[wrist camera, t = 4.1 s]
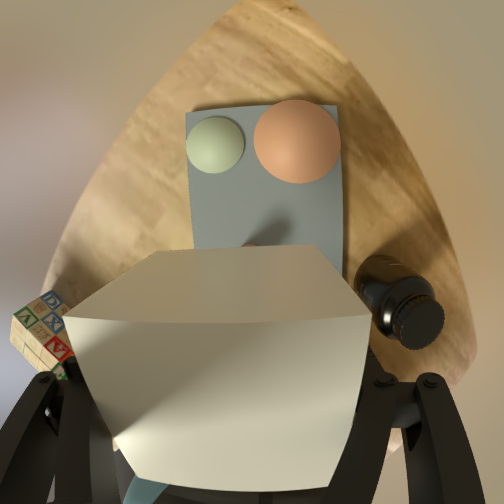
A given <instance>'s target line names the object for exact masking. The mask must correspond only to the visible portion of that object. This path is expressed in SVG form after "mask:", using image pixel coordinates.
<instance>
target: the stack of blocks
mask: <svg viewBox="0 0 504 504" xmlns="http://www.w3.org/2000/svg"><path fill="white" fill-rule="evenodd" d="M70 310H71V309H70V308H69V307H68V306H67V305H66V304H65V303H63V301H62V300H61V299H60V298H59V297H58V296H57V295H56V294H54V292H53V291H49V292H47V293H45V294H44V295H42V296H40V297H39V298H37V299H36V300H34V301H32V302H30V303H29V304H27V306H25V307H23V308H22V309H20V310H19V311H18V312H16V313H14V314H13V318H12V325H11V334H10V342H11V343H12V344H13V345H14V346H15V347H16V348H17V349H18V351H19V352H20V353H21V354H23V356H24V357H25V358H26V359H27V360H28V361H29V362H30V363H31V364H32V365H33V366H34V367H35V368H36V369H37V370H38V371H39V372H43V371H52V372H53V373H54V374H55V376H56V378H57V380H66V379H68V378H67V376H66V374H65V371H64V369H63V367H62V362H63V361H64V360H65V359H66V358H68V357H70V356H73V355H75V354H74V351H73V348H72V345H71V342H70V339H69V336H68V333H67V330H66V327H65V324H64V321H63V317H62V316H63V315H64V314H65V313H67V312H68V311H70ZM112 441H113V450H114V451H116V450H117V449H119V447H118V445H117V443H116V441H115V440H114V438H113V436H112Z"/></svg>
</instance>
